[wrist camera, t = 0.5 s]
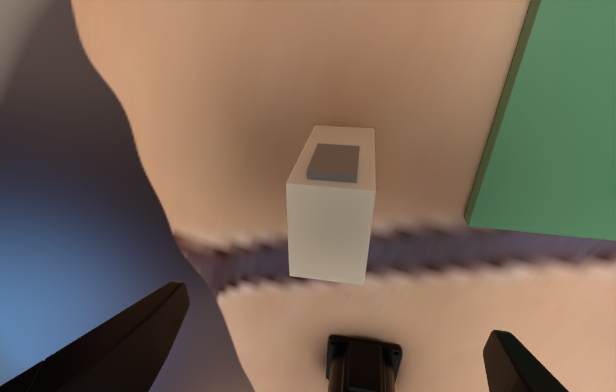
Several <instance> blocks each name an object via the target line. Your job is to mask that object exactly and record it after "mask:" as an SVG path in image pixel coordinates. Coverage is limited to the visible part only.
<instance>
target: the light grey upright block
mask: <svg viewBox="0 0 616 392" xmlns="http://www.w3.org/2000/svg"><path fill="white" fill-rule="evenodd" d="M375 195H376V173H375V136H374V128H359V127H340V126H322V125H315V126H314V128H313V130H312V132H311V134H310V136H309V138H308V140H307V142H306V144H305V146H304V148H303V150H302V152H301V154H300V156H299V158H298V160H297V162H296V164H295V166H294V168H293V170H292V172H291V174H290V176H289V178H288V180H287V182H286V203H287V226H288V250H289V273H290V276H295V277H302V278H310V279H318V280H326V281H333V282H341V283H349V284H356V285H364V281H365V273H366V265H367V257H368V249H369V242H370V234H371V226H372V218H373V211H374V203H375Z"/></svg>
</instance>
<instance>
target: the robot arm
mask: <svg viewBox="0 0 616 392" xmlns="http://www.w3.org/2000/svg"><path fill="white" fill-rule="evenodd" d="M189 304H190V300H189V296H188V292H187V287H186V284H185V283H183V282H178V281H171V282H169V283H167V284H166V285H164V286H162V287H161V288H159V289H158V290H156V291H155V292H153V293H151V294H149V295H148V296H146V297H145V298H143V299H141V300H140V301H138V302H136V303H135V304H133V305H132V306H130V307H128V308H127V309H125V310H124V311H122V312H120V313H119V314H117V315H115V316H114V317H112V318H111V319H109V320H107V321H106V322H104V323H103V324H101V325H99V326H98V327H96V328H94V329H93V330H91V331H90V332H88V333H86V334H85V335H83V336H81V337H80V338H78V339H77V340H75V341H73V342H72V343H70V344H69V345H67V346H65V347H64V348H62V349H60V350H59V351H57V352H56V353H54V354H52V355H51V356H49V357H47V358H46V359H45V361H41V362H39V363H38V364H36V365H34V366H33V367H31V368H30V369H28V370H26V371H25V372H23V373H21V374H20V375H18V376H16V377H15V378H13V379H11V380H10V381H8V382H6V383H5V384H3V385H1V386H0V392H148V391H149V390H150V388H151V386H152V384H153V382H154V381H155V379H156V377H157V375H158V373H159V371H160V370H161V368H162V366H163V364H164V362H165V360H166V359H167V356H168V355H169V352H170V350H171V348H172V346H173V343H174V341H175V339H176V336H177V334H178V332H179V329H180V327H181V325H182V322H183V320H184V318H185V315H186V313H187V311H188V308H189ZM483 357H484V363H485V369H486V374H487V380H488V386H489V391H490V392H569V391H568V390H567V389H566V388H565V387H564V386H563V385H562V384H561V383H560V382H559V381H558V380H557V379H556V378H555V377H554V376H553V375H552V374H551V373H550V372H549V371H548V370H547V369H546V368H545V367H544V366H543V365H542V364H541V363H540V362H539V361H538V360H537V359H536V358H535V357H534V356H533V355H532V354H531V353H530V352H529V351H528V350H527V349H526V347H525V346H524V345H523V344H522V343H521V342H520V341H519V340H518V339H517V338H516V337H515V336H514V335H513V334H511V333H510V332H506V331H500V330H493V331H492V332H491V334H490V336H489V338H488V340H487V343H486V345H485V347H484V350H483ZM401 358H402V348H401V347H399V346H395V345H389V344H382V343H376V342H369V341H363V340H356V339H350V338H344V337H337V336H330V337H329V339H328V351H327V371H326V378H327V379H328V380H329V385H328V392H395V381H396V377H397V373H398V369H399V365H400V361H401Z"/></svg>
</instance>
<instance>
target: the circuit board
mask: <svg viewBox="0 0 616 392" xmlns="http://www.w3.org/2000/svg"><path fill="white" fill-rule="evenodd" d="M464 218H465V221H466V223H467V225H468V226H470V227H481V228H491V229H501V230H512V231H522V232H533V233H543V234H553V235H564V236H574V237H584V238H595V239H605V240H616V0H531V3H530V6H529V9H528V12H527V16H526V19H525V22H524V25H523V29H522V32H521V35H520V38H519V41H518V45H517V48H516V51H515V54H514V57H513V61H512V64H511V67H510V70H509V74H508V77H507V80H506V83H505V86H504V90H503V93H502V96H501V99H500V103H499V106H498V109H497V112H496V115H495V119H494V122H493V125H492V128H491V132H490V135H489V138H488V141H487V144H486V148H485V151H484V154H483V157H482V161H481V164H480V167H479V170H478V173H477V177H476V180H475V183H474V186H473V190H472V193H471V196H470V199H469V202H468V206H467V209H466V212H465V215H464Z"/></svg>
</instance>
